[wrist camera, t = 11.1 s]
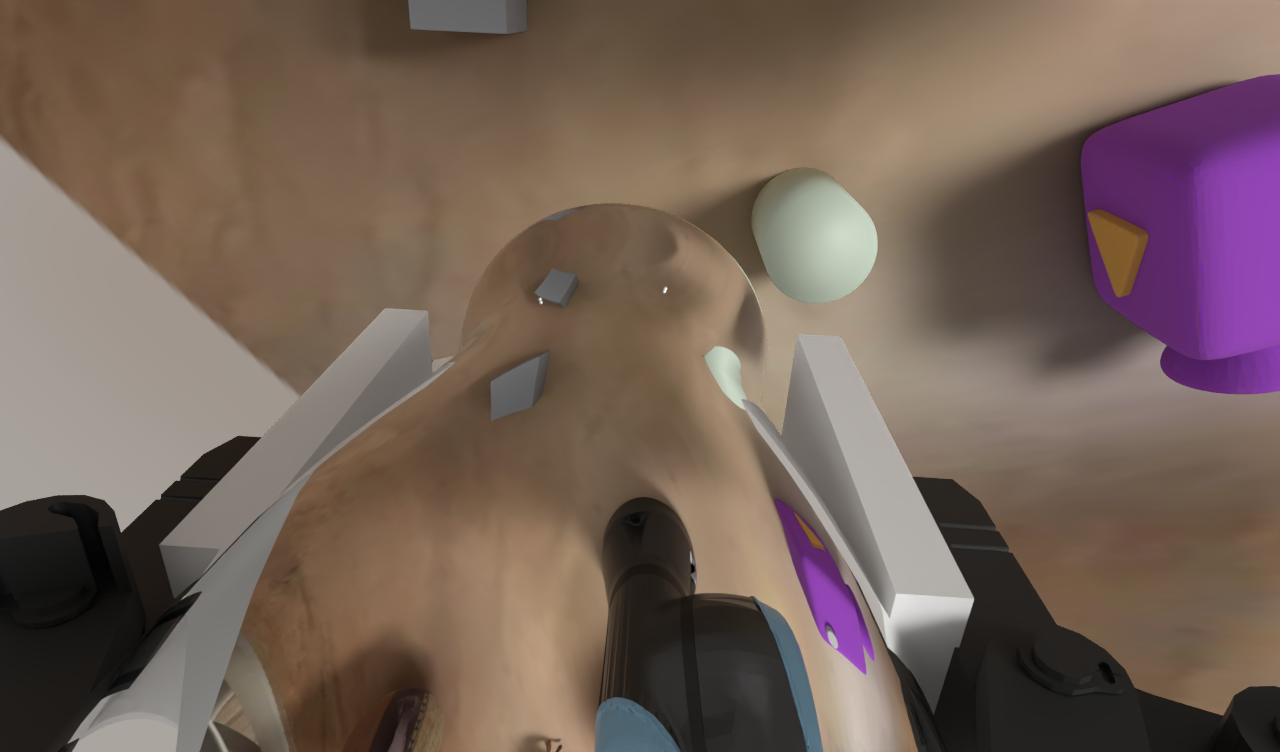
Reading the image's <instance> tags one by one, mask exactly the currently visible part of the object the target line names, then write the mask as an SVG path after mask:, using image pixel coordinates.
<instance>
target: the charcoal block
mask: <svg viewBox="0 0 1280 752" xmlns="http://www.w3.org/2000/svg"><path fill="white" fill-rule="evenodd" d="M408 4H409V17H410V29H416V30H437V31H457V32H477V33H497V34H510V33H517V32H524V31H527V0H408Z"/></svg>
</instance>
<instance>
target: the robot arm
mask: <svg viewBox="0 0 1280 752" xmlns="http://www.w3.org/2000/svg"><path fill="white" fill-rule="evenodd" d="M432 373H433V371H432V358H431V344H430V331H429V318H428V311H422V310H406V309H390V308H385V309H384V310H383V311H382V312H381V313H380V314H379V315H378V316H377V317H376V318H375V319H374V320H373V321H372V322H371V324H370V325H369V326H368V327H367V328H366V329H365V330H364V331H363V332H362V333H361V334H360V335H359V336H358V337H357V338H356V339H355V340H354V341H353V342H352V343H351V344H350V345H349V347H348V348H347V349H346V350H345V351H344V352H343V353H342V354H341V355H340V356H339V357H338V358H337V359H336V360H335V361H334V362H333V363H332V364H331V365H330V366H329V367H328V369H327V370H326V371H325V372H324V373H323V374H322V375H321V376H320V377H319V378H318V379H317V380H316V381H315V382H314V383H313V384H312V385H311V386H310V387H309V388H308V389H307V391H306V392H305V393H304V394H303V395H302V396H301V397H300V398H299V399H298V400H297V401H296V402H295V403H294V404H293V405H292V406H291V407H290V408H289V409H288V411H286V412H285V414H284V415H283V416H282V417H281V418H280V419H279V420H278V421H277V422H276V423H275V424H274V425H273V426H272V427H271V428H270V429H269V430H268V431H267V432H266V434H264V436H263V437H246V436H237V437H235V438H233V439H232V440H230V441H228V442H226V443H224V444H222V445H220V446H218V447H216V448H214V449H213V450H211V451H209V452H207V453H205V454H203V455H202V456H201V457H200V458H199V459H198V460H197V461H196V462H195V463H194V464H193V465H192V466H191V467H190V468H189V469H188V470H187V471H186V472H185V473H183V475H182V476H181V479H180V481H175V482H174V483H173V484H172V485H171V486H170V487H169V488H168V489H167V490H166V491H165V492H164V493H163V494H161V499H160V500H155V501H154V502H153V503H152V504H151V505H150V506H149V507H148V508H147V509H146V510H145V511H144V512H143V513H142V514H141V515H139V516H138V517H137V518H136V519H135V520H134V521H133V522H132V523H131V524H130V525H129V526H128V527H127V528H126V529H125V530H124V531H123V532H122V533H121V532H120V528H119V525H118V522H117V518H116V515H115V512H114V510H113V509H112V508H111V507H110V506H109V505H108V504H107V503H106V502H105V501H104V500H101V499H97V498H93V497H90V496H86V495H62V496H61V495H58V496H52V497H47V498H42V499H37V500H32V501H27V502H23V503H21V504H18V505H15V506H12V507H9V508H6V509H4V510H1V511H0V752H43V751H44V750H45V748H46V747H47V746H48V745H49V744H50V742H51V741H52V740H53V739H54V737H55V736H56V735H57V734H58V732H59V731H60V730H61V729H62V727H63V726H64V725H65V724H66V722H67V721H68V720H69V719H70V717H71V716H72V715H73V714H74V712H75V711H76V710H77V709H78V707H79V706H80V705H81V704H82V702H83V701H84V700H85V699H86V697H87V696H88V695H89V694H90V693H91V692H92V690H93V689H94V688H95V687H96V686H97V685H98V684H99V682H100V681H101V680H102V679H103V678H104V677H105V676H106V675H107V674H108V673H109V671H110V670H111V669H112V668H113V667H114V666H115V665H116V664H117V663H118V662H119V660H120V659H121V658H122V657H123V656H124V655H125V654H126V653H127V652H128V650H129V649H130V648H131V647H132V646H133V645H134V644H135V643H136V642H137V641H138V639H139V638H140V637H141V636H142V635H143V634H144V633H145V632H146V631H147V630H148V628H149V627H150V626H151V625H152V624H153V623H154V622H155V621H156V620H157V618H158V617H159V616H160V615H161V614H162V613H163V612H164V611H165V610H166V609H167V607H168V606H169V605H170V604H171V603H172V602H173V601H174V600H175V599H176V598H177V596H178V595H179V594H180V593H181V592H182V591H183V590H184V589H185V588H186V587H187V585H188V584H189V583H190V582H191V581H192V580H193V579H194V578H195V577H196V575H197V574H198V573H199V572H200V571H201V570H202V569H203V568H204V567H205V566H206V564H207V563H208V562H209V561H210V560H211V559H212V558H213V557H214V556H215V555H216V553H217V552H218V551H219V550H220V549H221V548H222V547H223V546H224V545H225V544H226V543H227V542H228V541H229V540H231V539H232V538H233V537H234V536H235V535H236V534H237V533H238V532H239V531H241V530H242V529H243V528H244V527H245V526H246V525H247V524H248V523H249V522H251V521H252V520H253V519H254V518H255V517H256V516H257V515H258V514H260V513H261V512H262V511H263V510H264V509H265V508H266V507H267V506H269V505H270V504H271V503H272V502H273V501H274V500H275V499H276V498H277V497H279V496H280V495H281V494H282V493H283V492H284V491H285V490H286V489H288V488H289V487H290V486H291V485H292V484H293V483H294V482H295V481H297V480H298V479H299V478H300V477H301V476H302V475H303V474H304V473H305V472H307V471H308V470H309V469H310V468H311V467H312V466H313V465H314V464H316V463H317V462H318V461H319V460H320V459H321V458H322V457H323V456H325V455H326V454H327V453H328V452H329V451H330V450H332V449H333V448H334V447H336V446H337V445H338V444H339V443H341V442H342V441H343V440H345V439H346V438H347V437H349V436H350V435H351V434H352V433H354V432H355V431H356V430H358V429H359V428H360V427H361V426H363V425H364V424H365V423H367V422H368V421H369V420H371V419H372V418H373V417H374V416H376V415H377V414H378V413H380V412H381V411H382V410H383V409H385V408H386V407H387V406H389V405H390V404H391V403H393V402H394V401H395V400H396V399H398V398H399V397H400V396H402V395H403V394H404V393H406V392H407V391H408V390H410V389H411V388H413V387H414V386H415V385H417V384H418V383H419V382H421V381H422V380H424V379H425V378H426V377H428V376H429V375H430V374H432ZM782 438H783V440H784V441H785V443H786V444H787V446H788V447H789V449H790V450H791V452H792V453H793V455H794V456H795V458H796V459H797V461H798V462H799V464H800V465H801V467H802V469H803V470H804V472H805V473H806V475H807V476H808V478H809V480H810V481H811V483H812V484H813V486H814V488H815V489H816V491H817V492H818V494H819V495H820V497H821V499H822V500H823V502H824V503H825V505H826V507H827V508H828V510H829V511H830V513H831V514H832V516H833V518H834V519H835V521H836V522H837V524H838V526H839V527H840V529H841V530H842V532H843V534H844V535H845V537H846V539H847V540H848V542H849V544H850V546H851V548H852V549H853V551H854V553H855V555H856V557H857V559H858V561H859V563H860V564H861V566H862V568H863V570H864V572H865V574H866V576H867V577H868V579H869V581H870V583H871V585H872V587H873V589H874V590H875V592H876V594H877V596H878V598H879V600H880V602H881V604H882V605H883V607H884V609H885V611H886V613H887V615H888V617H889V618H890V620H891V622H892V624H893V626H894V628H895V630H896V632H897V633H898V635H899V637H900V639H901V641H902V643H903V645H904V647H905V649H906V651H907V653H908V655H909V657H910V659H911V661H912V664H913V666H914V668H915V671H916V673H917V676H918V678H919V681H920V683H921V686H922V688H923V691H924V693H925V695H926V698H927V700H928V703H929V705H930V708H931V710H932V713H933V715H934V718H935V720H936V723H937V725H938V727H939V730H940V732H941V735H942V737H943V740H944V742H945V745H946V747H947V750H948V752H1280V687H1276V686H1259V687H1248V688H1246V689H1245V690H1243V691H1241V692H1240V693H1238V694H1236V695H1234V697H1233V699H1232V701H1231V703H1230V705H1229V706H1228V708H1227V710H1226V712H1225V714H1224V716H1222V715H1218V714H1215V713H1212V712H1208V711H1205V710H1202V709H1198V708H1195V707H1192V706H1188V705H1185V704H1182V703H1178V702H1175V701H1172V700H1168V699H1165V698H1162V697H1158V696H1155V695H1152V694H1150V693H1147V692H1144V691H1141V690H1139V689H1136V688H1134V686H1133V684H1132V682H1131V680H1130V678H1129V676H1128V674H1127V672H1126V670H1125V669H1124V668H1123V667H1122V666H1121V665H1120V664H1119V663H1118V662H1117V661H1116V660H1115V659H1114V658H1113V657H1112V656H1111V655H1110V654H1109V653H1108V652H1107V651H1106V650H1105V649H1103V648H1102V647H1100V646H1098V645H1097V644H1095V643H1094V642H1092V641H1091V640H1089V639H1087V638H1086V637H1084V636H1083V635H1081V634H1079V633H1076V632H1074V631H1071V630H1069V629H1066V628H1064V627H1061V626H1058V625H1057V624H1056V623H1055V621H1054V620H1053V618H1052V616H1051V615H1050V613H1049V612H1048V610H1047V608H1046V607H1045V605H1044V603H1043V602H1042V600H1041V599H1040V597H1039V595H1038V594H1037V592H1036V591H1035V589H1034V587H1033V586H1032V584H1031V583H1030V581H1029V579H1028V578H1027V576H1026V574H1025V573H1024V571H1023V570H1022V568H1021V566H1020V565H1019V563H1018V562H1017V560H1016V558H1015V557H1014V555H1013V554H1012V553H1009V551H1008V549H1009V547H1008V546H1007V544H1006V542H1005V541H1004V539H1003V537H1002V536H1001V534H1000V533H999V532H997V531H996V529H995V528H996V526H995V525H994V523H993V521H992V520H991V518H990V517H989V515H988V513H987V512H986V510H985V508H984V507H983V505H982V504H981V502H980V501H979V500H978V499H976V498H975V497H974V496H973V495H971V494H970V493H969V492H968V491H966V490H965V489H964V488H963V487H961V486H960V485H959V484H957V483H956V482H955V481H954V480H952V479H939V478H924V477H912V475H911V473H910V471H909V469H908V467H907V465H906V463H905V462H904V460H903V458H902V456H901V454H900V452H899V450H898V448H897V446H896V444H895V442H894V440H893V438H892V436H891V434H890V432H889V430H888V428H887V426H886V424H885V422H884V420H883V418H882V416H881V414H880V412H879V410H878V409H877V407H876V405H875V403H874V401H873V399H872V397H871V395H870V393H869V391H868V389H867V387H866V385H865V383H864V381H863V379H862V377H861V375H860V373H859V371H858V369H857V367H856V365H855V363H854V361H853V359H852V357H851V355H850V354H849V352H848V350H847V348H846V346H845V344H844V342H843V340H842V338H841V336H825V335H809V334H797V339H796V346H795V353H794V359H793V366H792V372H791V379H790V385H789V392H788V398H787V405H786V411H785V418H784V425H783V431H782Z"/></svg>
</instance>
